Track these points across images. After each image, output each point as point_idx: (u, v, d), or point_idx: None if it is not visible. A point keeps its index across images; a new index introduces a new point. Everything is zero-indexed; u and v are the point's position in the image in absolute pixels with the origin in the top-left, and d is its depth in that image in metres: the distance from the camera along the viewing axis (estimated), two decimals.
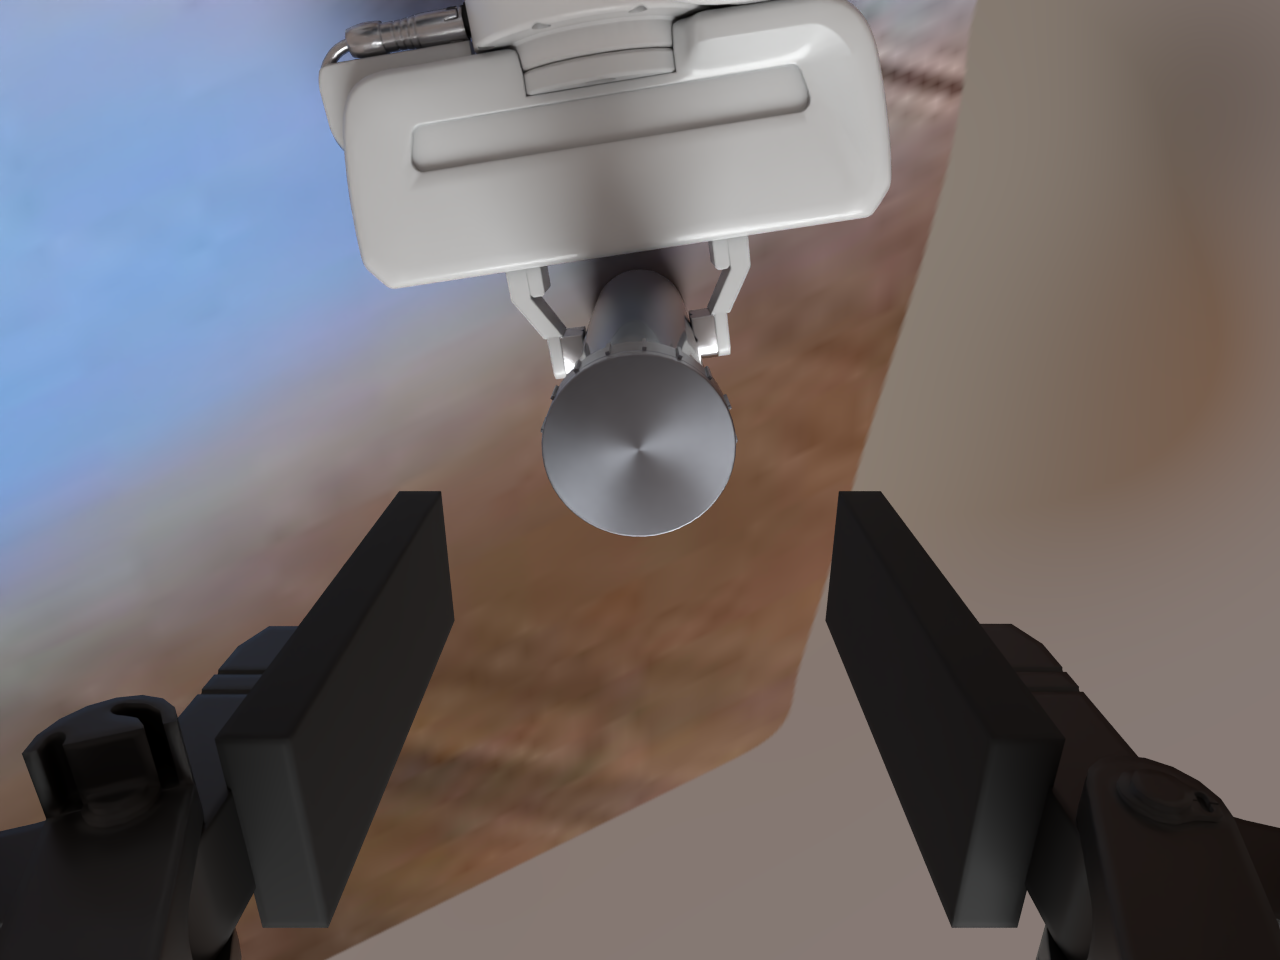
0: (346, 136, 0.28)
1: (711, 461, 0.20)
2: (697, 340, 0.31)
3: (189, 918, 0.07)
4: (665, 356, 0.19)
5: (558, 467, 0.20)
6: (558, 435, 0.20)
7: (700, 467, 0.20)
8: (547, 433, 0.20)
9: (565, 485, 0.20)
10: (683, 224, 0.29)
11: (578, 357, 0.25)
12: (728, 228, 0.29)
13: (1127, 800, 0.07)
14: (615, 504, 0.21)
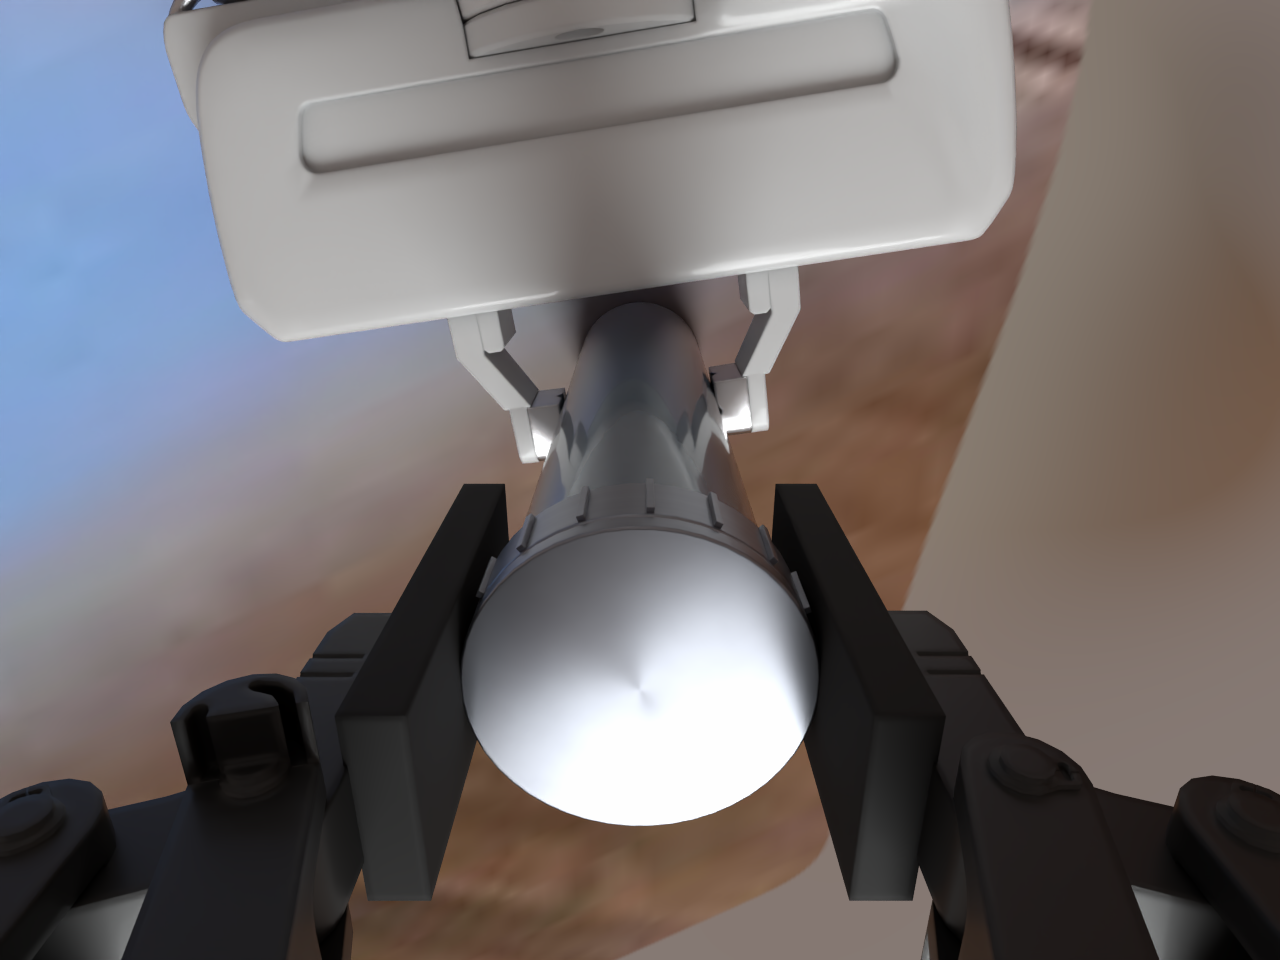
0: (201, 120, 0.18)
1: (774, 709, 0.11)
2: (722, 412, 0.22)
3: (316, 887, 0.08)
4: (691, 530, 0.10)
5: (491, 719, 0.11)
6: (489, 666, 0.11)
7: (753, 718, 0.11)
8: (469, 663, 0.11)
9: (505, 747, 0.11)
10: (705, 250, 0.19)
11: (544, 466, 0.16)
12: (771, 256, 0.20)
13: (998, 776, 0.07)
14: (597, 777, 0.11)
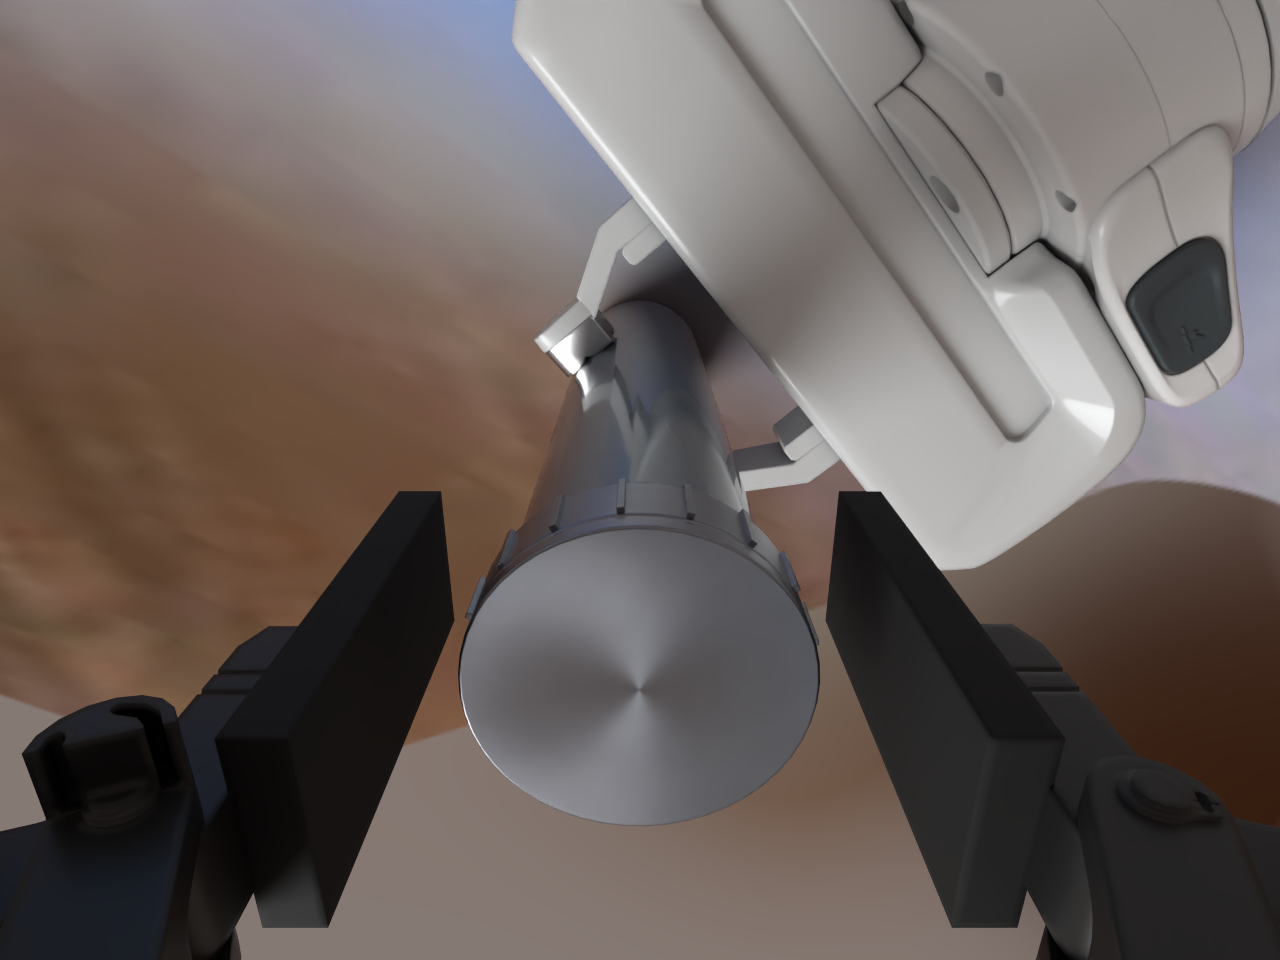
0: None
1: (747, 611, 0.10)
2: None
3: (189, 918, 0.07)
4: (527, 555, 0.10)
5: (575, 798, 0.11)
6: (529, 766, 0.11)
7: (742, 632, 0.10)
8: (515, 776, 0.11)
9: (609, 807, 0.12)
10: (820, 388, 0.21)
11: (632, 405, 0.16)
12: (842, 439, 0.22)
13: (1129, 801, 0.07)
14: (694, 772, 0.11)
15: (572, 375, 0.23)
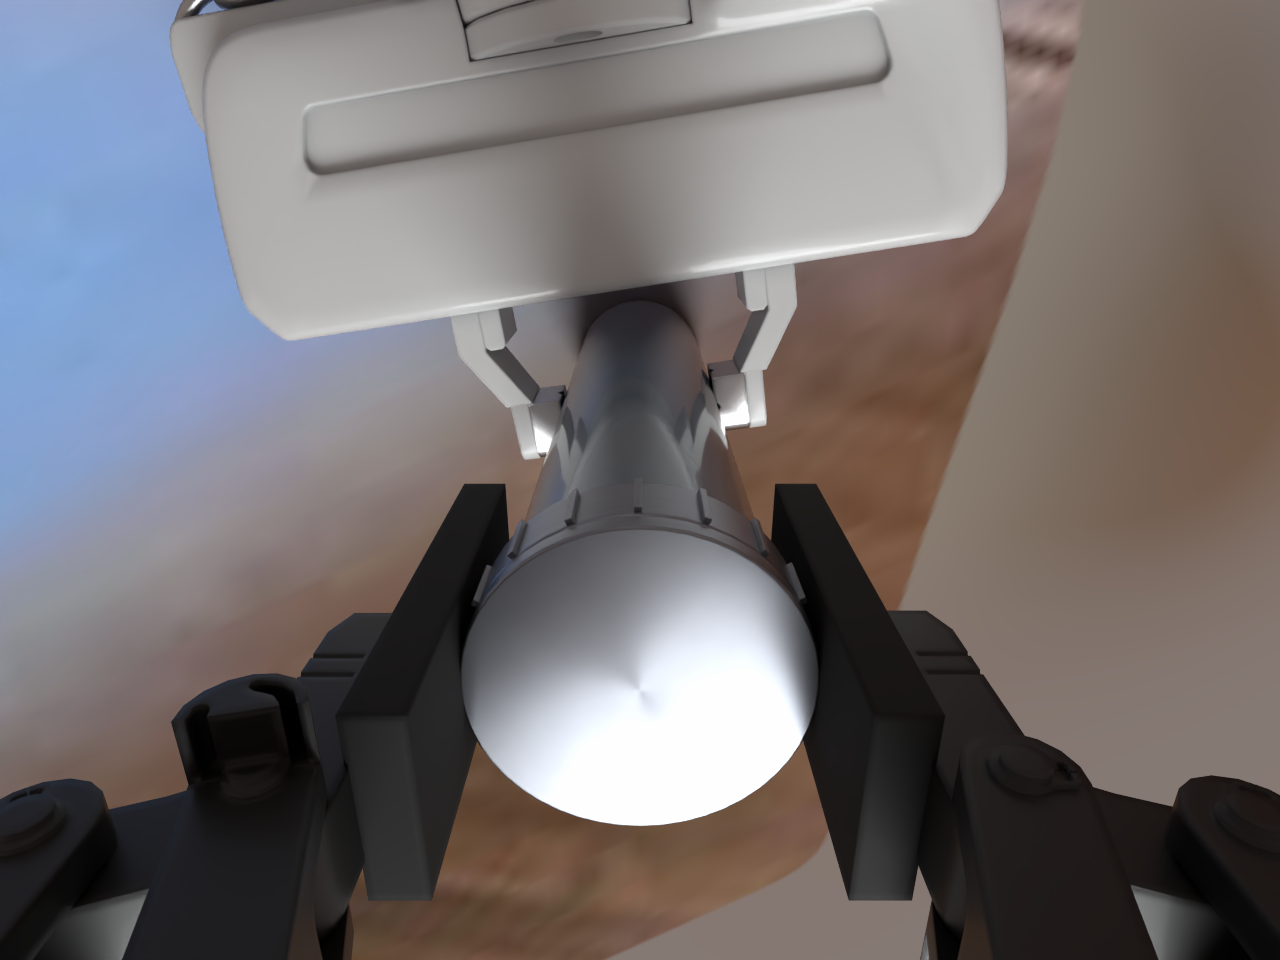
0: (207, 123, 0.19)
1: (614, 569, 0.10)
2: (720, 407, 0.22)
3: (316, 886, 0.08)
4: (463, 695, 0.11)
5: (718, 791, 0.11)
6: (661, 804, 0.12)
7: (634, 584, 0.10)
8: (664, 819, 0.12)
9: (748, 774, 0.11)
10: (702, 248, 0.20)
11: (545, 460, 0.16)
12: (767, 254, 0.20)
13: (996, 776, 0.07)
14: (759, 694, 0.11)
15: None
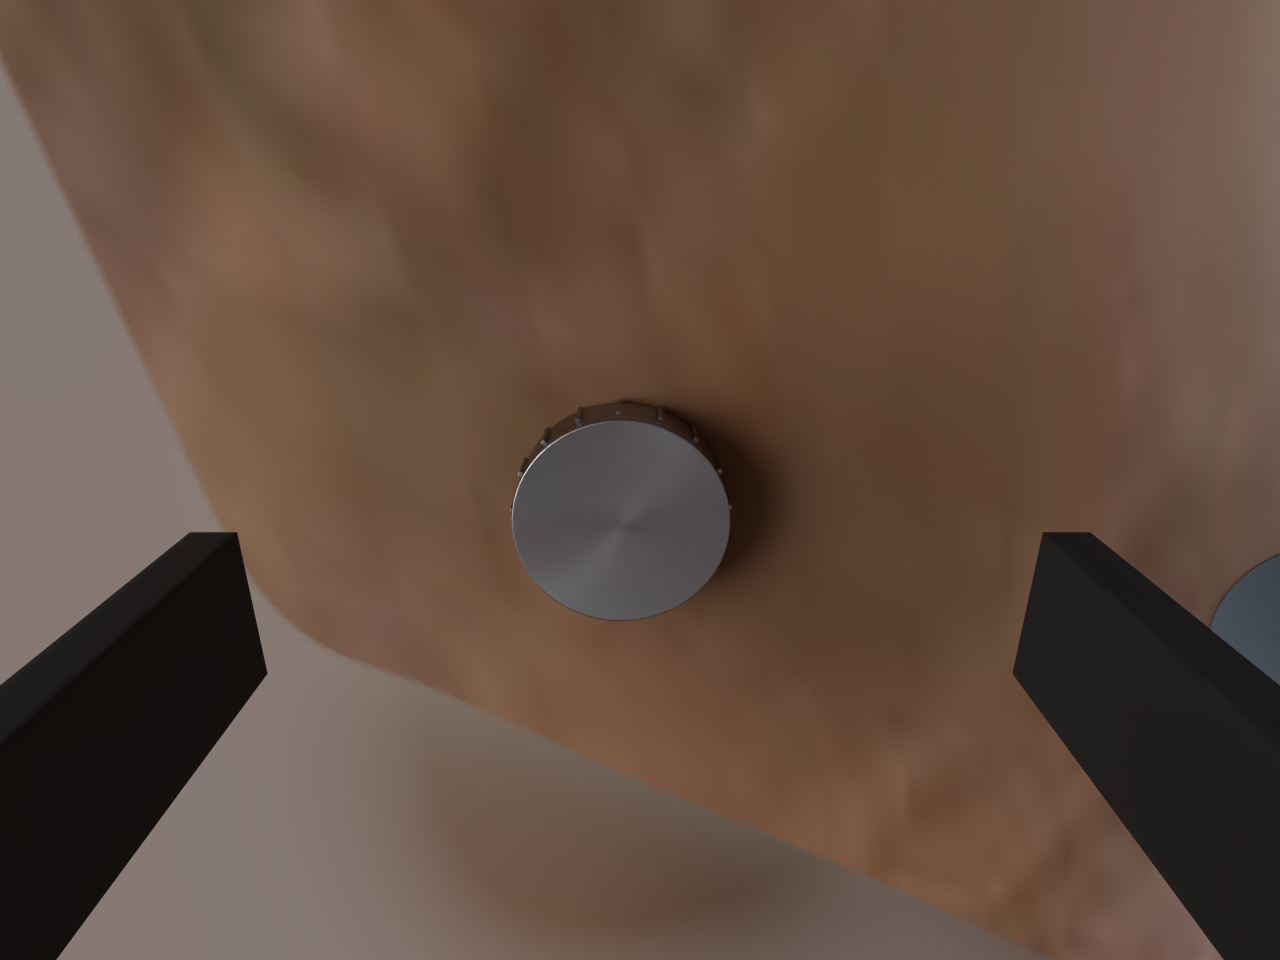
0: None
1: (605, 447, 0.17)
2: None
3: None
4: (513, 532, 0.18)
5: (670, 595, 0.18)
6: (635, 605, 0.18)
7: (616, 456, 0.17)
8: (637, 615, 0.19)
9: (689, 583, 0.18)
10: None
11: None
12: None
13: None
14: (693, 528, 0.18)
15: None
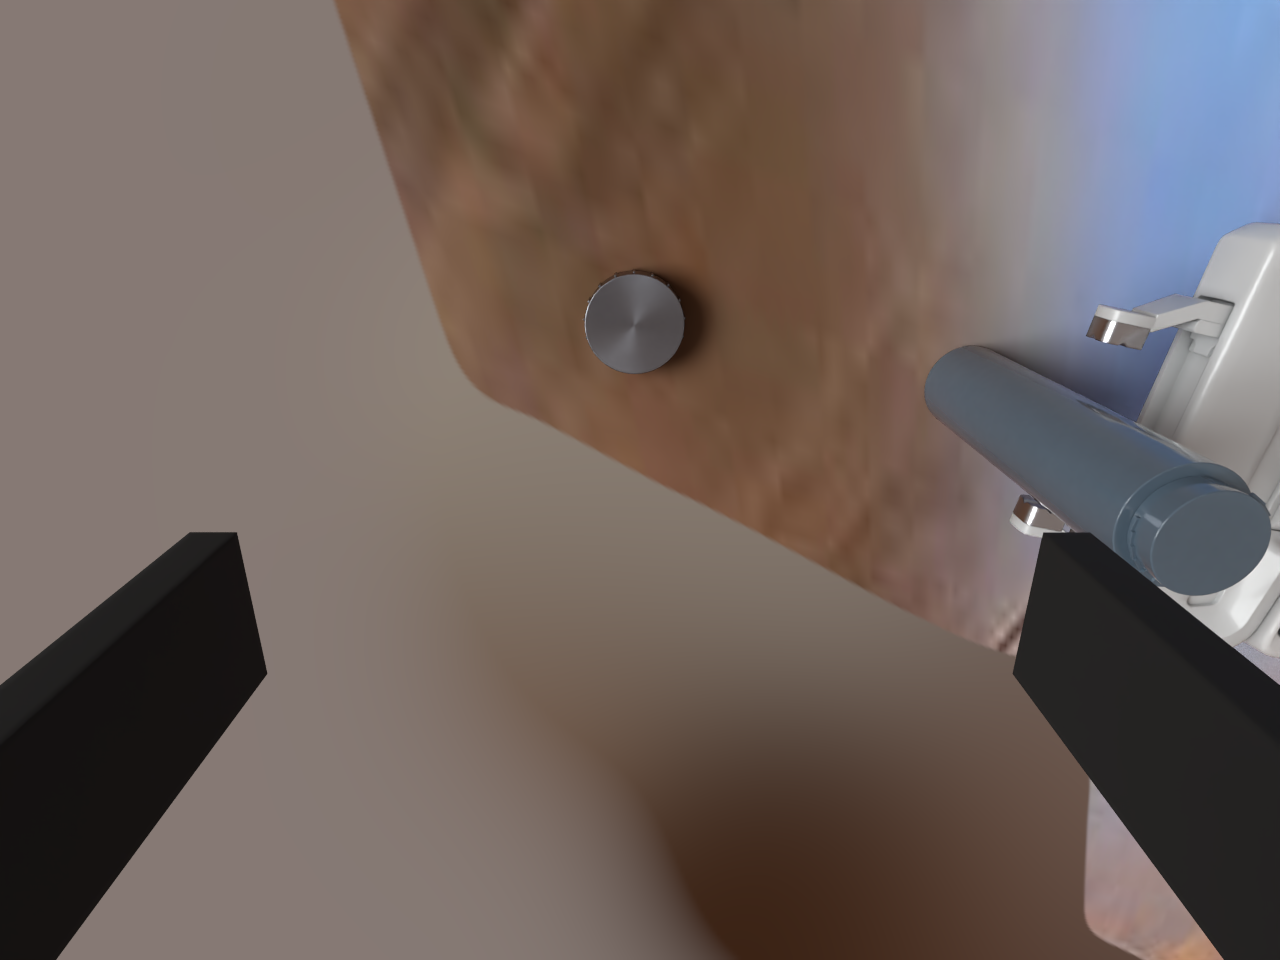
0: None
1: (627, 287, 0.38)
2: (1048, 513, 0.37)
3: None
4: (585, 328, 0.39)
5: (657, 360, 0.40)
6: (641, 365, 0.40)
7: (632, 291, 0.38)
8: (641, 371, 0.40)
9: (665, 354, 0.39)
10: None
11: None
12: None
13: None
14: (667, 326, 0.39)
15: (1015, 374, 0.35)
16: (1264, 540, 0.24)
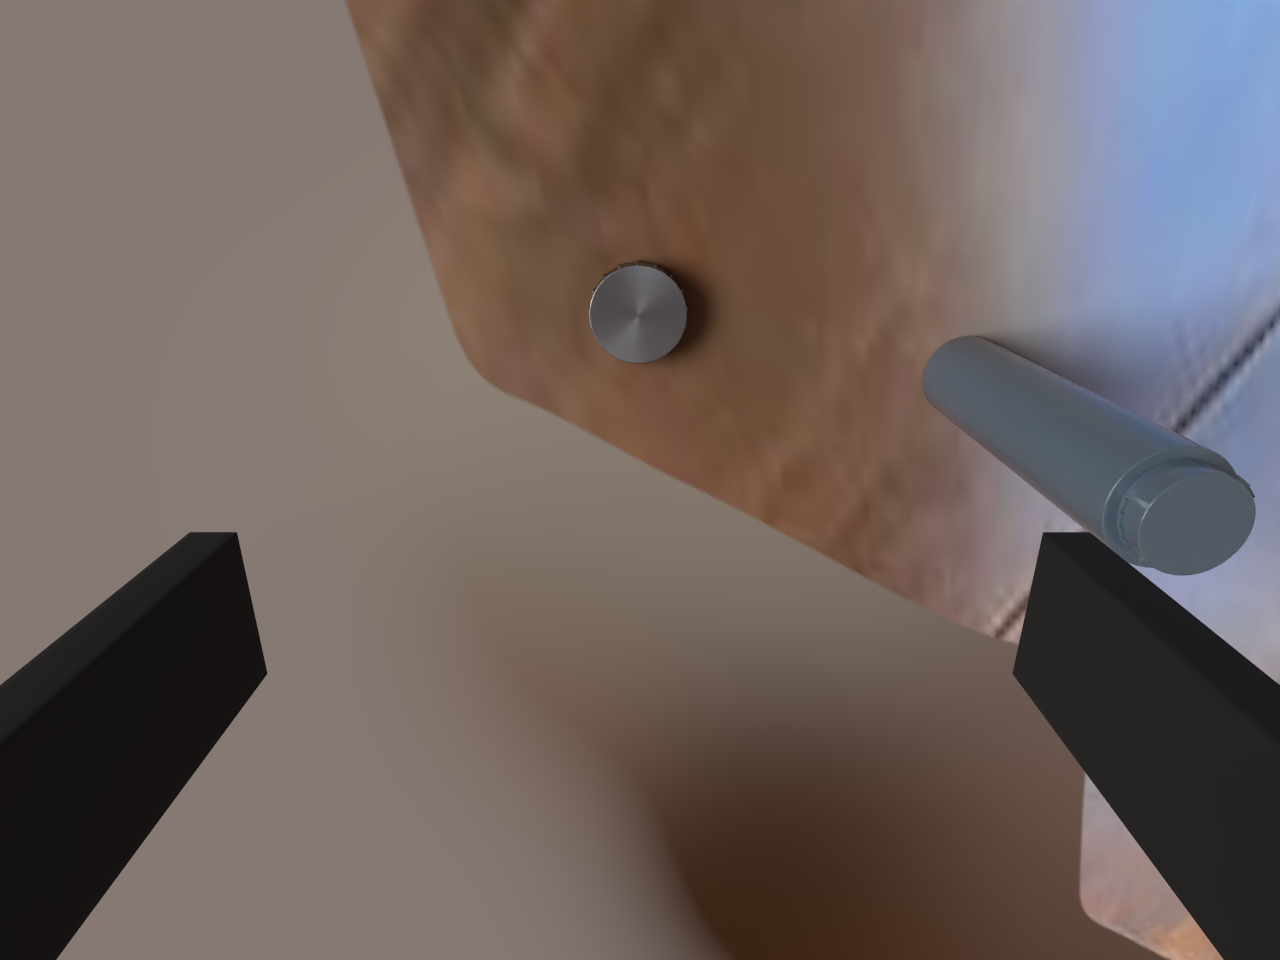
0: None
1: (631, 278, 0.39)
2: None
3: None
4: (589, 318, 0.40)
5: (660, 350, 0.40)
6: (644, 355, 0.40)
7: (636, 282, 0.39)
8: (645, 360, 0.41)
9: (668, 344, 0.40)
10: None
11: None
12: None
13: None
14: (670, 316, 0.40)
15: (1011, 363, 0.36)
16: (1248, 521, 0.25)
